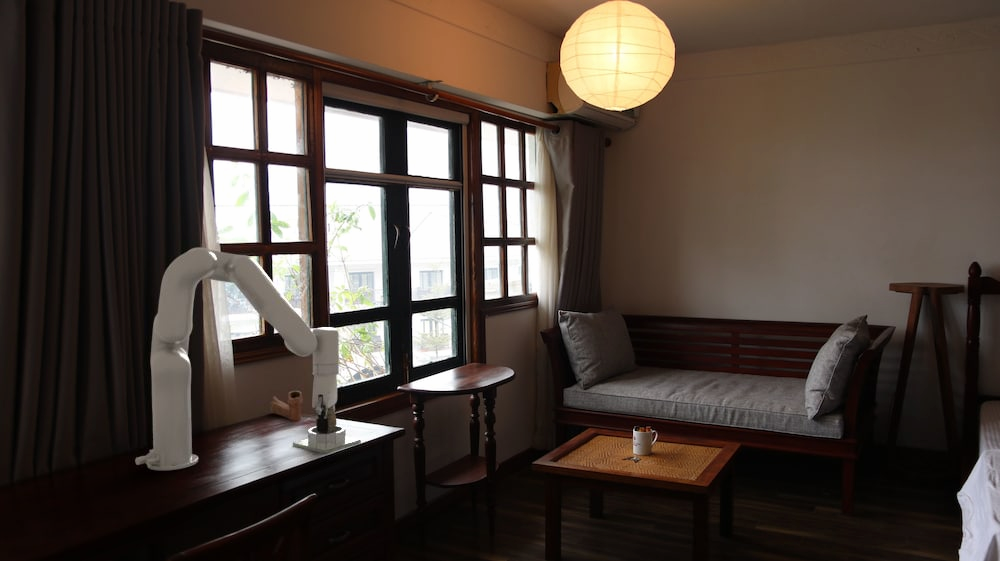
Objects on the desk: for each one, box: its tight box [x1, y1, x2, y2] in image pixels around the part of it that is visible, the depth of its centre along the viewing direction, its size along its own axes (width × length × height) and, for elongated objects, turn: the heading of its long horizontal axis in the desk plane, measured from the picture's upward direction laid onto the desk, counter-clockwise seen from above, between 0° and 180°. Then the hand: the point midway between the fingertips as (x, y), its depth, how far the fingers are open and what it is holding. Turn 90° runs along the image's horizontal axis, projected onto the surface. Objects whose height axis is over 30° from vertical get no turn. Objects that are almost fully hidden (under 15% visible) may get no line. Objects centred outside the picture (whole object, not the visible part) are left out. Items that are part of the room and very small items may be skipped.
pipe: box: [270, 390, 304, 422], centre depth 248 cm, size 5×18×10 cm, turn 45°
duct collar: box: [292, 424, 362, 454], centre depth 214 cm, size 14×14×4 cm
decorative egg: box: [315, 406, 337, 434], centre depth 214 cm, size 6×6×10 cm
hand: (326, 428), depth 214 cm, fingers closed on decorative egg, 5 cm apart
